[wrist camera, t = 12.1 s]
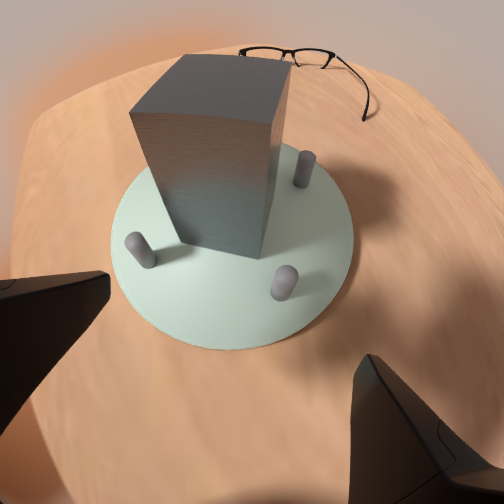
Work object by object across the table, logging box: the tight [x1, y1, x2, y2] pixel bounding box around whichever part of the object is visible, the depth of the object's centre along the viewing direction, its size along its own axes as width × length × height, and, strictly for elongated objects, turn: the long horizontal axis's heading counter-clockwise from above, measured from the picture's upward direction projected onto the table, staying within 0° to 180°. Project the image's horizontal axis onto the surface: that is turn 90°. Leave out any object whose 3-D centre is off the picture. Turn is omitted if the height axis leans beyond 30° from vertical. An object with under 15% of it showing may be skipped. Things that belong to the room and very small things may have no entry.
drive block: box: [129, 54, 292, 260], centre depth 16 cm, size 6×6×12 cm
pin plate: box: [111, 143, 354, 351], centre depth 20 cm, size 20×20×4 cm
